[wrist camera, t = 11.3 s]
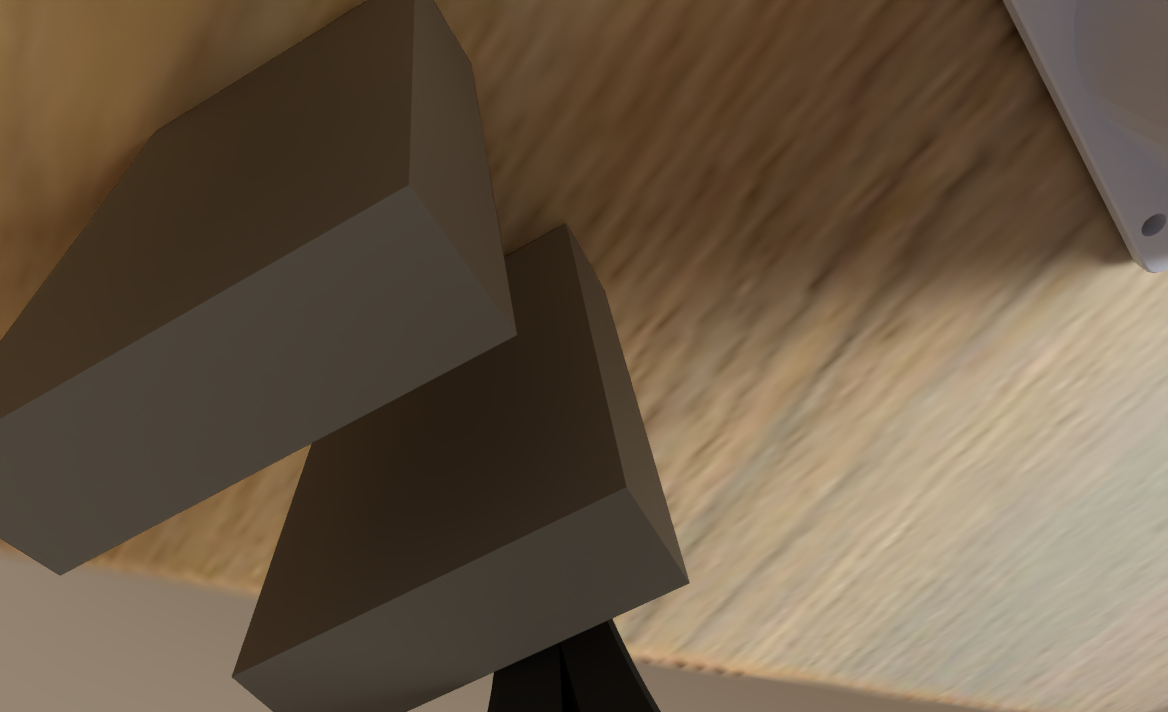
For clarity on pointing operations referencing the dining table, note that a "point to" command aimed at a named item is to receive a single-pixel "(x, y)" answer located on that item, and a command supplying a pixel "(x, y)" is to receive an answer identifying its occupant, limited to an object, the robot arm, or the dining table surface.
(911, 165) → the dining table surface
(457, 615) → the domino
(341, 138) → the domino
